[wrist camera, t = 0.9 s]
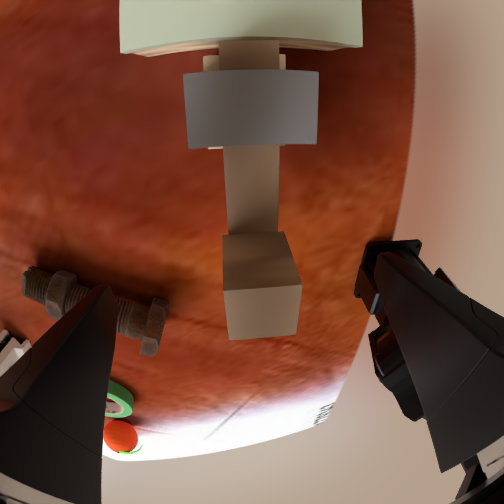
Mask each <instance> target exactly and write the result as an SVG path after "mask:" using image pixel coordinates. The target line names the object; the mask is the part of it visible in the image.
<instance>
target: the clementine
mask: <svg viewBox="0 0 504 504" xmlns="http://www.w3.org/2000/svg"><path fill="white" fill-rule="evenodd" d="M103 437H104V441H105V443H106V444H107V446H108V447H109V448H110V449H112V450H113V451H115V452H118V453H124V454H132V453H135V452H138V451H139V450H140V449H141V448H140V449H139V450H137V451H134V452H130V451H132V450H133V449H134V448H135V447H136V445H137V442H138V436H137V433H136V431H135V429H134V428H133V427H132V426H131V425H130V424H129V423H127V422H125V421H121V420H114V421H111V422H109V423H108V424H107V425H106V426H105V428H104V432H103ZM142 446H143V445H142Z"/></svg>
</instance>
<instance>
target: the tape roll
mask: <svg viewBox="0 0 504 504" xmlns="http://www.w3.org/2000/svg"><path fill="white" fill-rule="evenodd" d="M107 398H110V399H112V400H113V401H115V402H116V403H112V402H106V411H105V416H108V417H116V418H117V417H118V418H119V417H127V416H129V415H131V414H132V411H133V404H134V397H133V396H132V394H131V393H130V392H129V391H128V390H127V389H125V388H124V387H122V386H121V385H119V384H117V383H115V382H113V381H111V380H109V387H108V394H107Z"/></svg>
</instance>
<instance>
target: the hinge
mask: <svg viewBox="0 0 504 504" xmlns="http://www.w3.org/2000/svg"><path fill="white" fill-rule="evenodd" d="M30 347H31V348H32V346H31V344H30V341H29V340H27V339H26V340H25V341H24V342H23V343H22V344H20V343H19V342H18V341H17V340H16V339H15V338H14V337H13V338H11V337H10V335H9V333H8V331H7V330H3V331H2V332H1V333H0V376H1V375H2V374H4V373H5V372H6V371H7V370H8V369H9V368H10V367H11V366H12V365H13V364H14V363H15V362H16V361H17V360H18V359H19V358H20V357H21V356H22V355H23V354H24V353H25V352H26V351H27V350H28V349H29V348H30Z"/></svg>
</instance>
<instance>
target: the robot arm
mask: <svg viewBox="0 0 504 504" xmlns="http://www.w3.org/2000/svg"><path fill="white" fill-rule="evenodd" d="M421 246H422V243H421V242H420V240H418V239H416V240H400V241H385V242H371V243H368V244H367V245H366V247H365V250H364V255H363V259H362V263H361V265H360V267H359V271H358V275H357V279H356V283H355V286H356V287H355V291H354V295H355V297H356V298H362V300H363V302H364V304H365V306H366V308H367V310H368V312H369V313H370V314H371V315H373V314H374V315H375V317H376V319H377V320H378V323H379V325H380V326H379V327H378V328H377V329H376V330H375V331H372V332H371V333H370V334H368V336H369V341H370V347H371V352H372V357H373V362H374V368H375V374H376V376H377V377H378V379H379V381H380V382H381V383H382V384H383V385H384V386H385V387H386V388H387V389H388V390H389V391H391V392H393V394H394V396H395V398H396V400H397V401H398V403H399V406H400V408H401V410H402V412H403V414H404V415H405V416H406V417H407V418H409V419H410V420H412V421H417V420H419V419H421V418H424V419H426V420H427V425H428V428H429V431H430V435H431V438H432V441H433V445H434V448H435V452H436V456H437V460H438V464H439V468H440V471H441V473H443V472H445V471H447V470H449V469H451V468H453V467H455V466H457V465H458V464H460V463H461V465H462V466H463V469H464V471H465V473H466V475H465V478H464V480H463V482H462V485H461V487H460V489H459V491H458V494H457V496H456V498H455V499H456V500H455V501H454V502H452V503H450V504H504V317H502V316H500V315H499V314H497V313H495V312H493V311H491V310H490V309H488V308H486V307H484V306H483V305H481V304H480V303H478V302H476V301H475V300H473V299H471V298H469V297H468V296H467V295H465V294H463V293H462V292H460V290H459V289H458V288H457V287H456V285H455V284H454V283H453V282H452V281H451V280H450V278H449V277H448V276H447V275H446V274H445V273H444V271H442V269H441V268H438V269H437V270H436V271H435V272H436V273H435V274H434V275H433V274H432V273H431V272H430V271H429V269H428V268H427V267H426V266H425V264H424V263H423V262H422V261H421V259H420V258H419V257H418V255H419V252H420V249H421ZM371 247H372V248H371ZM370 248H371V249H370ZM358 293H359V294H358ZM117 318H118V302H117V300H116V298H115V296H114V294H113V292H112V290H111V288H110V286H109V285H98V286H96V287H95V288H94V289H93V290H91V291H90V292H89V293H88V294H87V295H86V296H85V297H84V298H82V299H81V300H80V301H79V302H78V303H77V304H76V305H75V306H73V307H72V308H71V309H70V310H69V311H68V312H67V313H66V314H65V315H64V316H63V317H61V318H60V319H59V320H58V321H57V322H56V323H55V324H54V325H53V326H52V327H51V328H50V329H49V330H48V331H47V332H46V333H45V334H44V335H43V336H42V337H41V338H39V339H38V340H37V341H36V342H35V343H34V344H33V345H32V348H31V347H30V348H29V349H28V350H27V351H26V352H25V353H24V354H23V355H22V356H21V357H20V358H19V359H18V360H17V361H16V362H15V363H14V364H13V365H12V366H11V367H10V368H9V369H8V370H7V371H6V372H5V373H4V374H2V375H1V376H0V504H101V469H102V468H101V467H102V458H101V457H102V445H103V432H104V420H105V411H106V402H107V394H108V387H109V380H110V373H111V367H112V361H113V355H114V349H115V340H116V328H117Z"/></svg>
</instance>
